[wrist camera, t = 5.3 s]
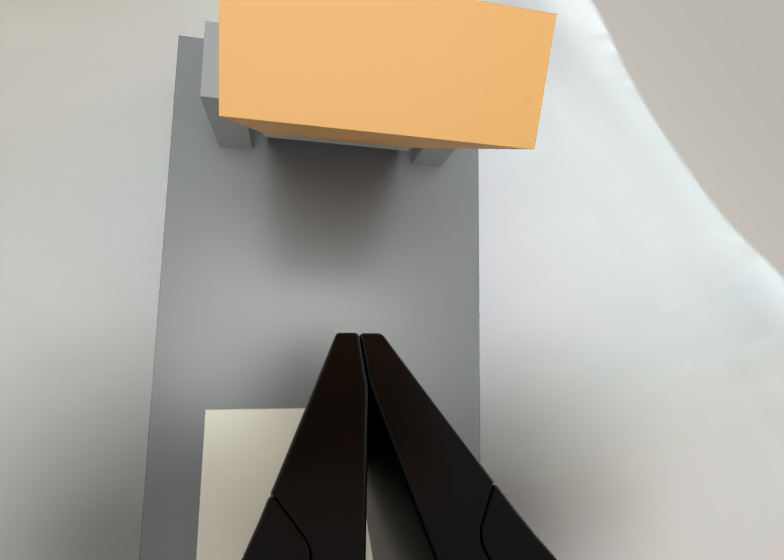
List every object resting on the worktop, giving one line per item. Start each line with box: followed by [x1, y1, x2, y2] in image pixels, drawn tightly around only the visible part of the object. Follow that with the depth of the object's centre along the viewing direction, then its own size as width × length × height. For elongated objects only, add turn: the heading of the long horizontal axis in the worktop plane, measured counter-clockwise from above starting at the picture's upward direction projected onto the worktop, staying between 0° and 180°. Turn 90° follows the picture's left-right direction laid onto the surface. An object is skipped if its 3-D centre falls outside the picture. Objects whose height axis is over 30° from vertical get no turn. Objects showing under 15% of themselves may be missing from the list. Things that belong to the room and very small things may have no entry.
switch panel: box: [139, 21, 480, 560], centre depth 14 cm, size 20×10×5 cm, turn 179°
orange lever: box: [219, 0, 556, 151], centre depth 11 cm, size 2×4×10 cm, turn 89°
